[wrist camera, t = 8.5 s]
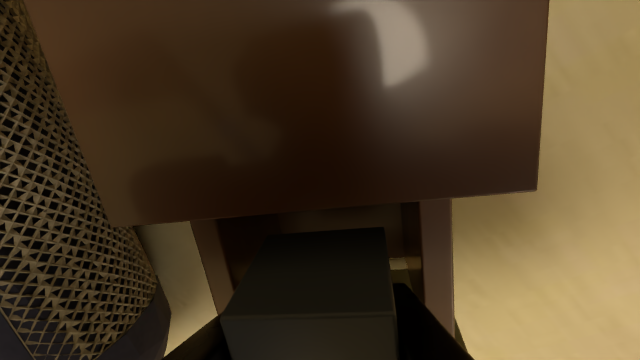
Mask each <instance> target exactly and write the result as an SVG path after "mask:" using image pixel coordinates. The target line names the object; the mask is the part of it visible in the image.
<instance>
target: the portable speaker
mask: <svg viewBox="0 0 640 360" xmlns="http://www.w3.org/2000/svg"><path fill="white" fill-rule="evenodd" d="M58 96H59V97H58ZM170 319H171V310H170V307H169V304H168V301H167V299H166V296H165V294H164V291H163V289H162V286H161V284H160V282H159V279H158V277H157V275H156V274H155V273H154V271H153V268H152V266H151V265H150V262H149V260H148V258H147V257H146V254H145V252H144V250H143V248H142V246H141V243H140V242H139V240H138V237H137V235H136V233H135V232H134V229H133V227H132V226H126V227H114V228H112V227H111V226H110V224H109V221H108V219H107V216H106V213H105V211H104V208H103V206H102V203H101V200H100V198H99V195H98V193H97V190H96V188H95V185H94V182H93V180H92V177H91V175H90V172H89V169H88V167H87V164H86V162H85V159H84V157H83V154H82V151H81V149H80V146H79V144H78V141H77V138H76V136H75V133H74V131H73V128H72V126H71V123H70V120H69V118H68V115H67V113H66V110H65V107H64V105H63V102H62V100H61V97H60V94H59V92H58V89H57V87H56V84H55V82H54V79H53V76H52V74H51V71H50V69H49V66H48V63H47V61H46V58H45V56H44V53H43V51H42V48H41V45H40V43H39V40H38V38H37V35H36V32H35V30H34V27H33V25H32V22H31V20H30V17H29V14H28V12H27V9H26V7H25V4H24V1H23V0H0V360H161V359H162V358H163V357H164V354H165V351H166V346H167V340H168V333H169V327H170Z"/></svg>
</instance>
